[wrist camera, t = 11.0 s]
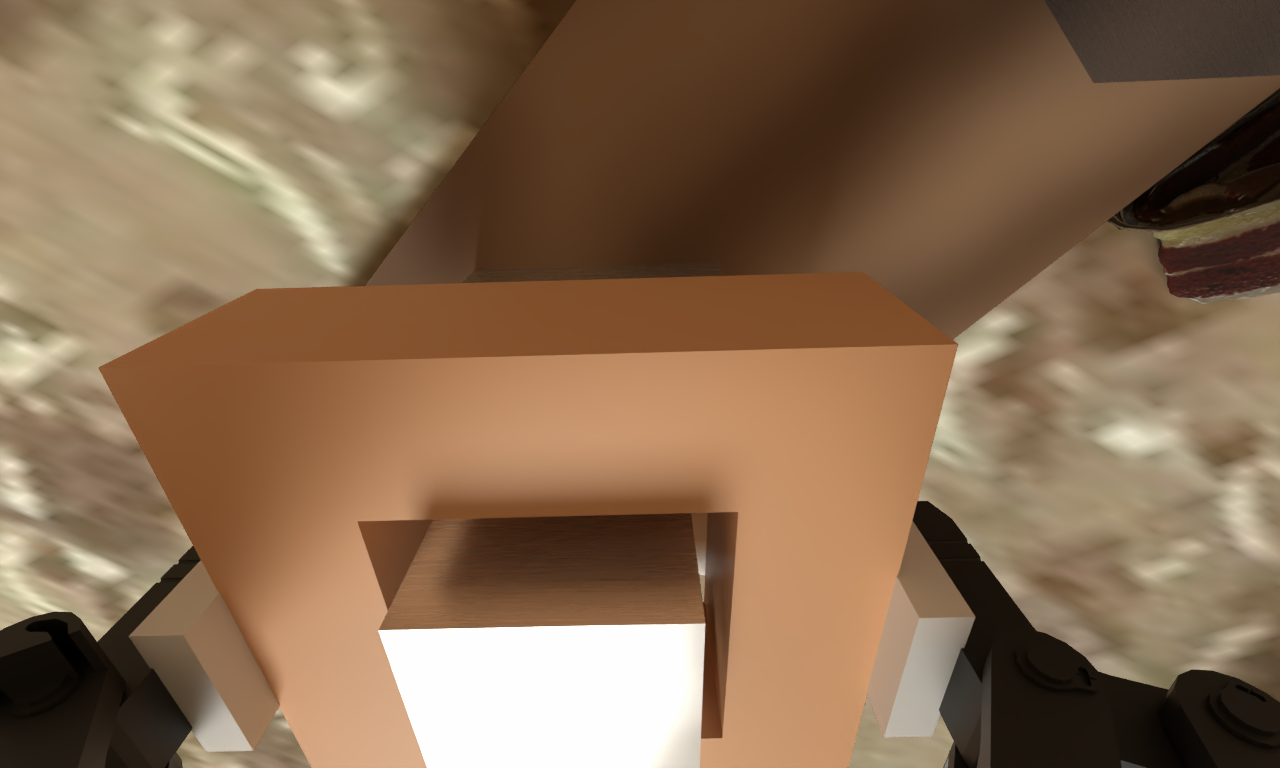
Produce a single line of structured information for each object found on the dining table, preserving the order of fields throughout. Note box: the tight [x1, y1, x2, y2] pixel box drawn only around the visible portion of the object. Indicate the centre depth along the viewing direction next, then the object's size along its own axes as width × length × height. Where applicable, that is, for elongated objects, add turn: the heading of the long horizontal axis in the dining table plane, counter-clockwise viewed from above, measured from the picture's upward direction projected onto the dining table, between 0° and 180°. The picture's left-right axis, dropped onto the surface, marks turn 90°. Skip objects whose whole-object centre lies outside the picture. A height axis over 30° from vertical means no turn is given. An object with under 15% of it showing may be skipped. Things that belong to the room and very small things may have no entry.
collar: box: [99, 272, 958, 768], centre depth 10 cm, size 10×10×3 cm
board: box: [365, 0, 1280, 340], centre depth 15 cm, size 14×32×2 cm, turn 137°
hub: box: [378, 263, 724, 768], centre depth 12 cm, size 7×7×11 cm
